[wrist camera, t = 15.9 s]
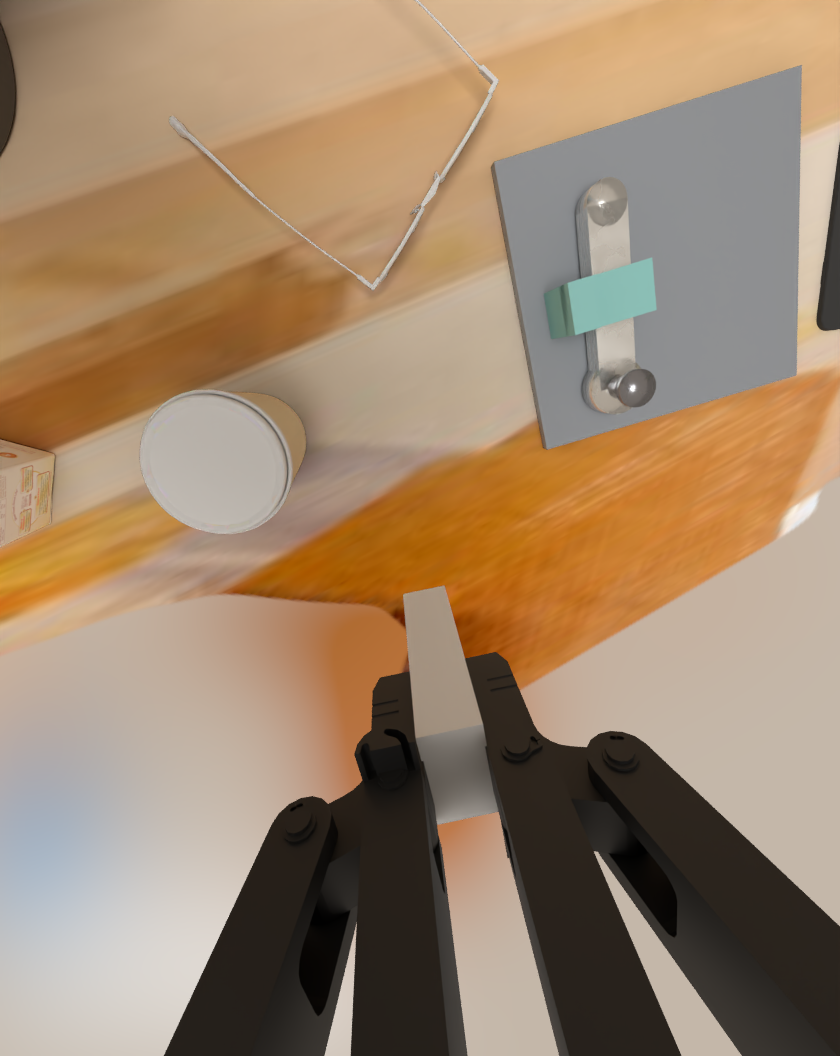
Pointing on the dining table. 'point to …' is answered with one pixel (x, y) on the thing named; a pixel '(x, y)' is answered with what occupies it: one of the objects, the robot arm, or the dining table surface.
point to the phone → (831, 265)
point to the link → (612, 346)
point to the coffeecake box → (24, 490)
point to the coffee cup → (222, 458)
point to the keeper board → (663, 252)
